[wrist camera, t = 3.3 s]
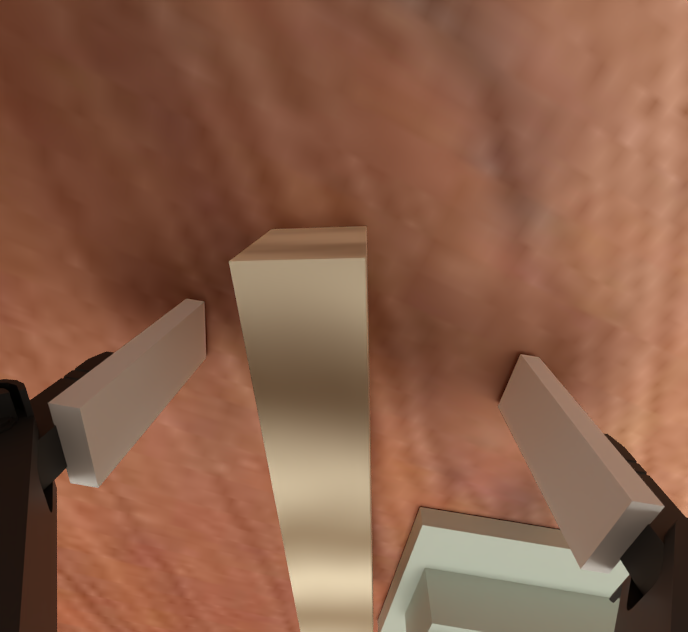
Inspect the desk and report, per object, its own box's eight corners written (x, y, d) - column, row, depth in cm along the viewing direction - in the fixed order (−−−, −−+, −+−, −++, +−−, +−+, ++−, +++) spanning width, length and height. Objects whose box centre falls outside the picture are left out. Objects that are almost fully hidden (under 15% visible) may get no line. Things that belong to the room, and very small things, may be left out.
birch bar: (273, 227, 13) (228, 261, 9) (366, 224, 13) (365, 257, 8) (318, 571, 22) (307, 665, 18) (372, 574, 22) (373, 670, 18)
